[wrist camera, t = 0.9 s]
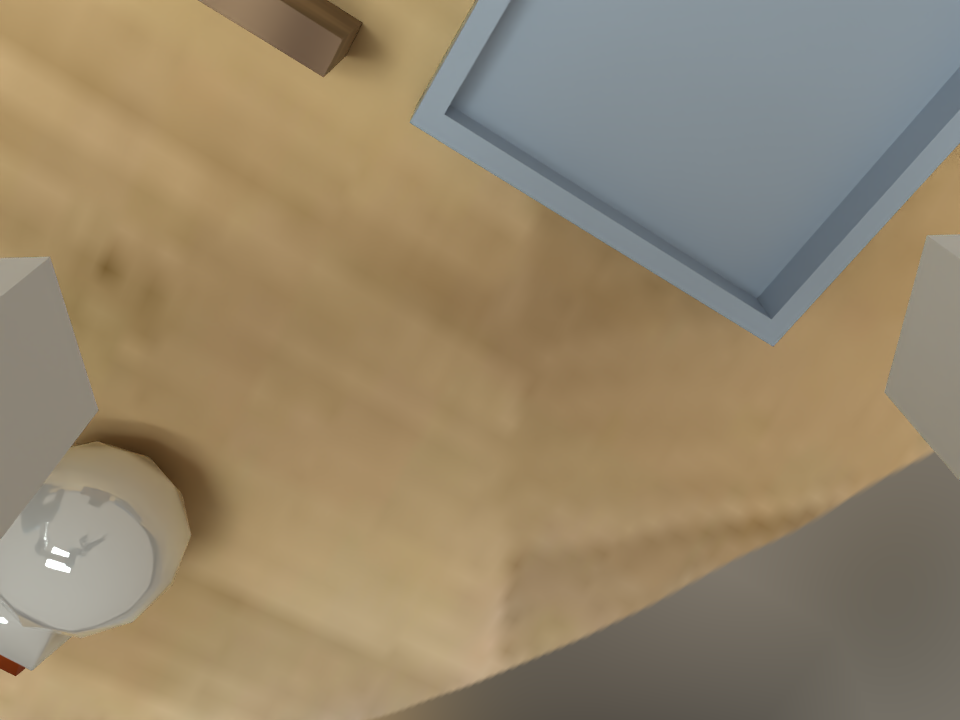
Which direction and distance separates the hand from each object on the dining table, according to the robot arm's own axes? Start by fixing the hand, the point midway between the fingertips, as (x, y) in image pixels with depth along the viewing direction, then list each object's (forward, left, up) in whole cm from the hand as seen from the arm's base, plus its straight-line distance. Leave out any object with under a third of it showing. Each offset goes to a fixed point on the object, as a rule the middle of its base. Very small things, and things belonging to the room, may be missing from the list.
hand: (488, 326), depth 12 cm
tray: (+8, +7, -24) cm, 26 cm away
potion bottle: (-6, -32, -24) cm, 41 cm away
